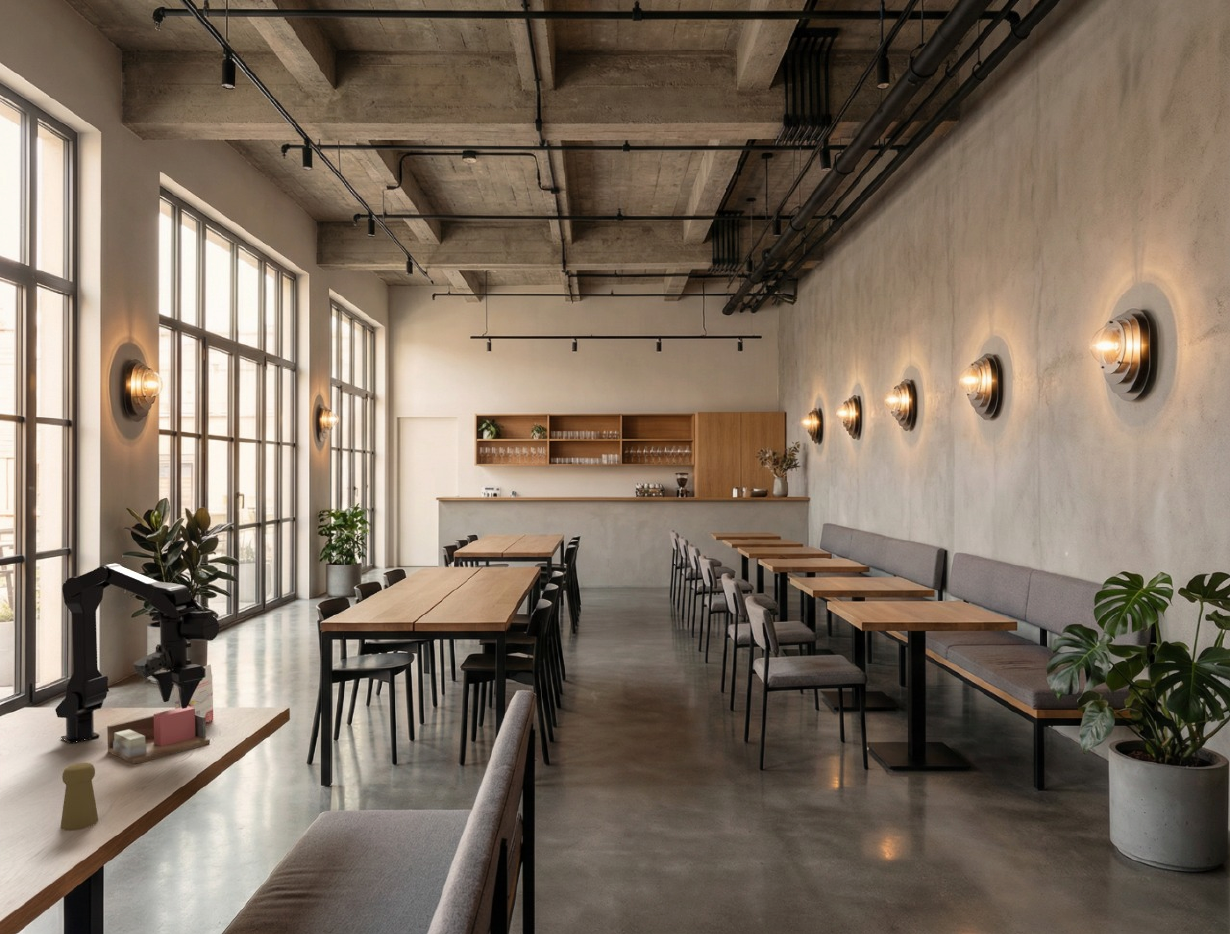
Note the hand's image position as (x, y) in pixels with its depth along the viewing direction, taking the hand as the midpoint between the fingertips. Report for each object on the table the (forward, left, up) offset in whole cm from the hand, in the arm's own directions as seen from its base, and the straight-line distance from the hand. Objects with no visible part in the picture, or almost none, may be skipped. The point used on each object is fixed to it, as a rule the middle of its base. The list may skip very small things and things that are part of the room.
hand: (175, 704), depth 203 cm
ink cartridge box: (-12, +10, -10) cm, 19 cm away
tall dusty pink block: (0, 0, -8) cm, 9 cm away
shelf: (-1, -3, -10) cm, 10 cm away
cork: (+31, -32, -10) cm, 45 cm away
